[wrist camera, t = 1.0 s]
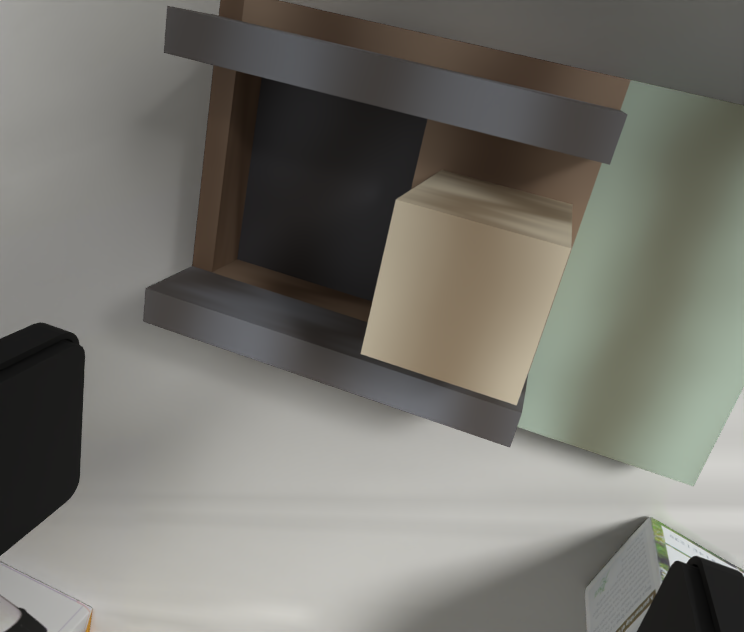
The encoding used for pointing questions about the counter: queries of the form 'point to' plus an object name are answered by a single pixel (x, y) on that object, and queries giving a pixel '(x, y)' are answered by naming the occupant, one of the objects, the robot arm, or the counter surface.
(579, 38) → the counter surface
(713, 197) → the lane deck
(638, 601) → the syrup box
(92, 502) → the counter surface
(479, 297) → the ash block
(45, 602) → the packaging box
